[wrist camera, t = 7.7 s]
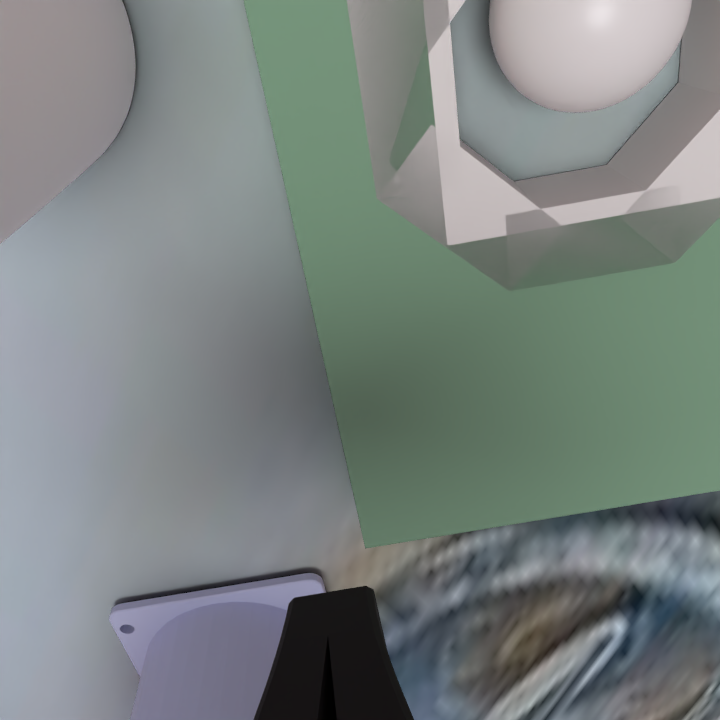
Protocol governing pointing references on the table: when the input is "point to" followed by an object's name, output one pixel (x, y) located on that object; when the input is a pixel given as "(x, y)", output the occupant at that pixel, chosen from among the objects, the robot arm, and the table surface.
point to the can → (58, 96)
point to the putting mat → (496, 280)
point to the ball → (584, 47)
